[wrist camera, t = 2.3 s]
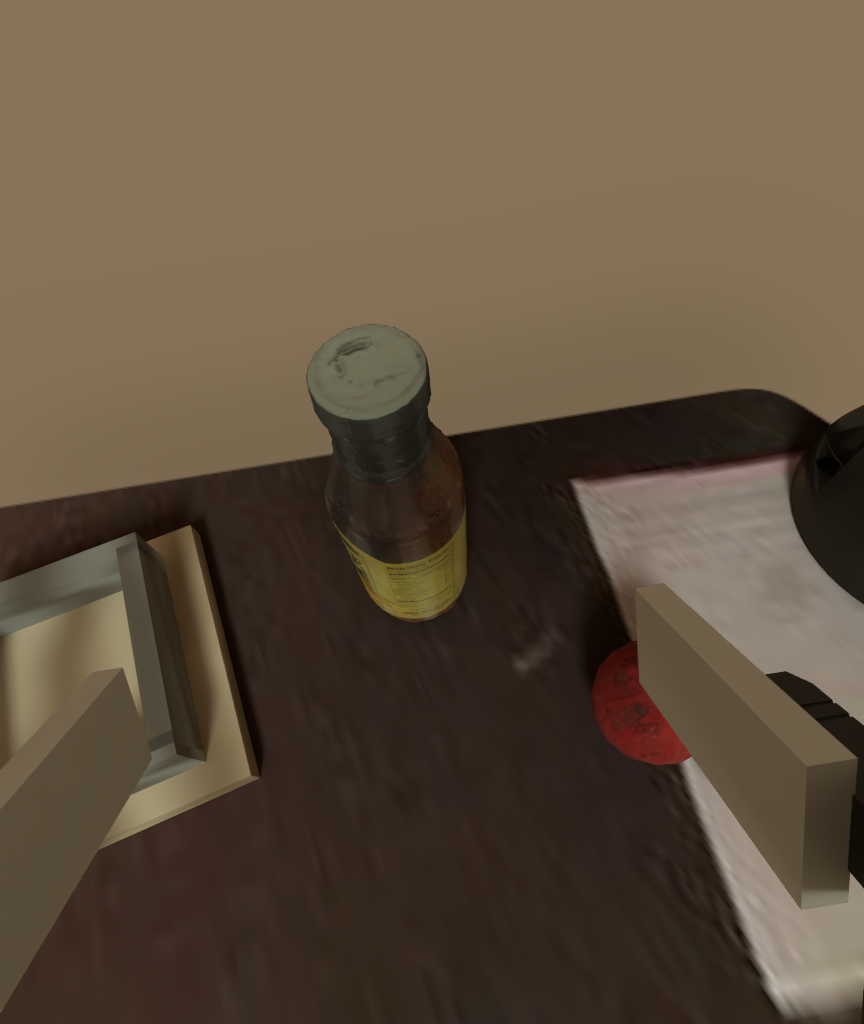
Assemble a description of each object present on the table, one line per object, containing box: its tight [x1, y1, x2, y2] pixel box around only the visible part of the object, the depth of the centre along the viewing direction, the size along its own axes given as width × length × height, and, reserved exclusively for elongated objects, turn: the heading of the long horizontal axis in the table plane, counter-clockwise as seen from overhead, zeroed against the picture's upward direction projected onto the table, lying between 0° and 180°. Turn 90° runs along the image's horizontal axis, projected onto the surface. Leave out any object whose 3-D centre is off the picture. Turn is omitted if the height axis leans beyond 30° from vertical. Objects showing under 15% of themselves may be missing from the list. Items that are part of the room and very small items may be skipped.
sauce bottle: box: [306, 324, 467, 622], centre depth 28 cm, size 6×6×20 cm
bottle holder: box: [0, 525, 260, 850], centre depth 32 cm, size 16×16×5 cm
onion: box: [592, 641, 691, 765], centre depth 29 cm, size 6×6×8 cm
